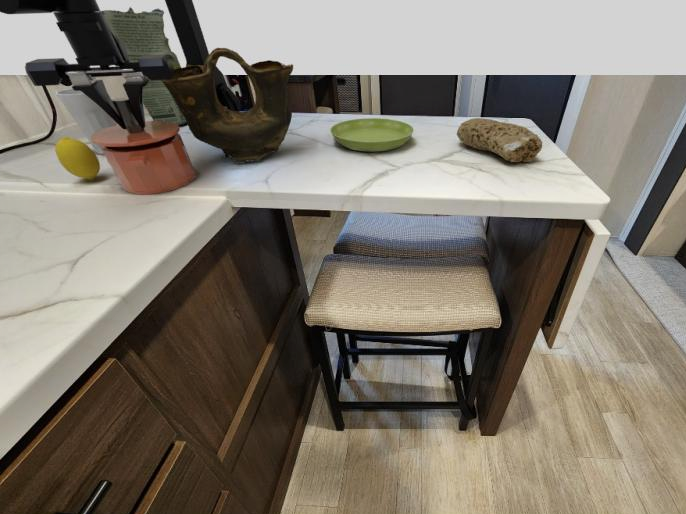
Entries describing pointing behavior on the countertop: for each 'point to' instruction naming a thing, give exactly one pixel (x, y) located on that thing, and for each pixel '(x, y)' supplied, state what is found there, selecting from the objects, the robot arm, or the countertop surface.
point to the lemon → (77, 158)
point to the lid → (133, 129)
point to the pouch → (143, 40)
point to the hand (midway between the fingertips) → (134, 128)
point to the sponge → (500, 139)
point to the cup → (86, 113)
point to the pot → (151, 166)
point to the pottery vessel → (232, 126)
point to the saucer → (372, 134)
